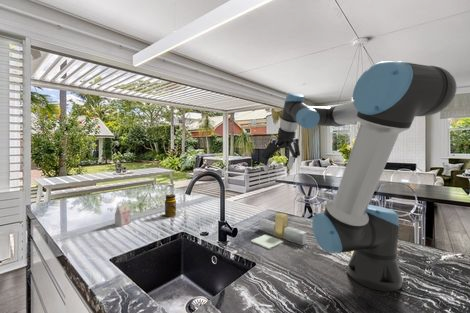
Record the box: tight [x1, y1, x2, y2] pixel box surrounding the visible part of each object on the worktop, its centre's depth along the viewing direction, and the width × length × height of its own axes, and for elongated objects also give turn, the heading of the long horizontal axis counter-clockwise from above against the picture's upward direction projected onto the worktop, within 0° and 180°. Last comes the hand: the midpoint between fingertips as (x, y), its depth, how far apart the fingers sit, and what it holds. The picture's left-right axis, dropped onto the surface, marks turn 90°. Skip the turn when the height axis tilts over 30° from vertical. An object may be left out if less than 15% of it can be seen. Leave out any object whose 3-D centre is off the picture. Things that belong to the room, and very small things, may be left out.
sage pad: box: [250, 233, 285, 250], centre depth 103 cm, size 10×10×1 cm
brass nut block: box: [274, 212, 289, 239], centre depth 109 cm, size 4×4×10 cm
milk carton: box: [114, 203, 132, 228], centre depth 122 cm, size 4×7×10 cm, turn 161°
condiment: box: [159, 194, 178, 219], centre depth 136 cm, size 7×8×12 cm
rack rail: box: [258, 218, 308, 246], centre depth 109 cm, size 24×3×5 cm, turn 43°
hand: (277, 169), depth 115 cm, fingers open, 13 cm apart
